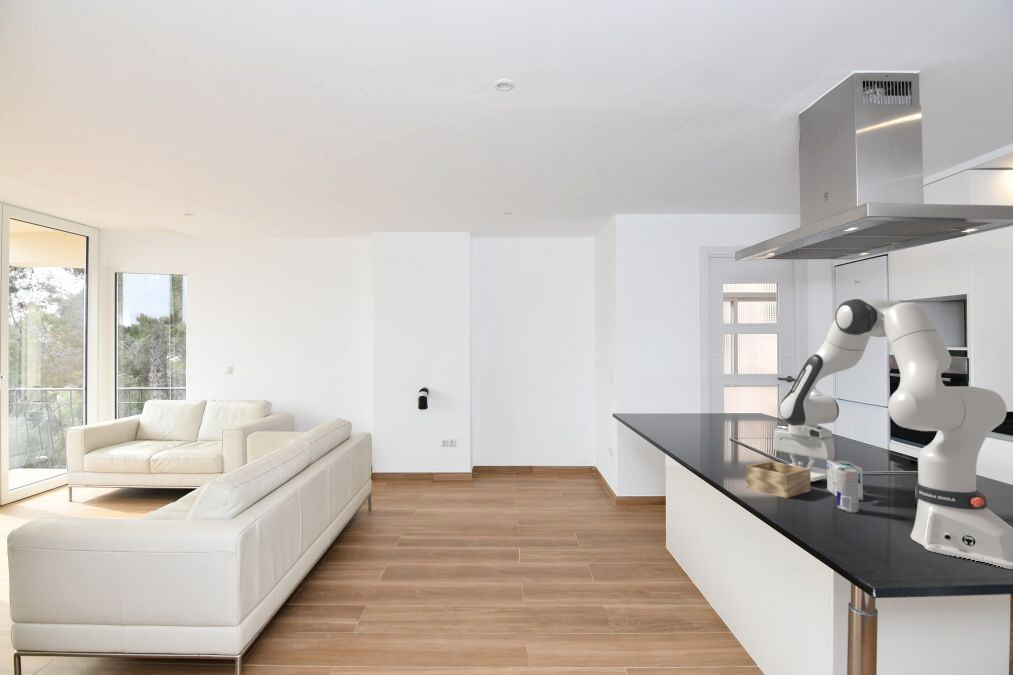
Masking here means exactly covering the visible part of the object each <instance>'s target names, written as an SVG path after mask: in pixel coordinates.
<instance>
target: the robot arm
mask: <svg viewBox="0 0 1013 675" xmlns="http://www.w3.org/2000/svg"><path fill="white" fill-rule="evenodd" d="M827 332H828V333H827V335H826V337H825V339H824V342H822V345H821V346H820V347H819V349H818V350H817V351H816V352H814V354H812V355H811V356H809V358H808V359H807V360H806V362H805V363H804V364H803V366H802V368H801V370H800V371H799V373H798V375H797V377H796V379H795V381H794V382H793V384H792V385H791V386H790V389H789V391H788V393H787V394H786V395H785V396H784V397H783V399H782V400H781V402H780V403H779V411H778V412H779V414H780V418H782V419H783V420H784V422H786V423H787V424H788V425H787V426H783V425H777V426H776V427H775V428H774V430H773V433H774V436H773V444H772V446H773V449H774V451H777V452H782V453H788V454H789V457H790V459H791V462H792V463H793V466H798V461H799V460H798V459H797V455H798V456H804V457H808V460H809V462H808V464H806V468H807V469H810V470H811V469H812V468H813V467H814V466H813V465H814V463H815V462H816V461H817V459H820V460H824V461H827V460H834V458H835V456H836V455H835V454H836V453H835V452H836V451H835V444H834V440H833V438H831V437H832V435H833V431H832V430H830V429H828V428H826V427H824V426H821V425H823V424H826V425H827V424H831V423H834V422H836V420H837V419H838V417H839V414H840V407H839V404H838V402H837V400H836V399H835V398H833V397H832V396H829V395H826V394H825V393H823V392H821V391H819V390H818V389H817V388H816V386H817V384H818V383H819V382H820V381H821V380H822V379H823V378H826V377H827V376H830V375H832V374H835V373H838V372H843V371H846V370H849V369H851V368H853V367H855V366H856V365H857V364H858V363H859V362H860V360H862V358H863V355H864V353H865V351H866V347H867V345H868V342H869V340H870V338H871V337H875V338H887V341H888V344H889V346H890V349H891V351H892V353H893V357H894V359H895V362H896V365H897V367H898V370H899V377H900V378H899V379H900V380H899V385H898V387H897V389H896V390H895V391H894V392H893V393H892V394H891V395H890V397H889V400H888V403H887V410H888V414H889V416H890V418H891V419H892V421H893V422H894V423H895V424H896V425H898V426H899V427H901V428H904V429H907V430H908V429H909V430H915V431H920V432H936V435H935V436H934V438H933V440H932V441H931V442H930V443H928V444H927V445H925V446H923V447H922V448H921V449H920V450H919V452H918V455H917V470H918V471H917V476H918V477H917V482H916V483H915V491H914V492H915V502H916V504H917V506H916V514H915V520H914V525H913V528H912V530H911V533H910V538H911V539H912V540H913V541H915V542H916V543H918V544H919V545H922V546H923V547H924V549H925V550H927V551H930V552H933V553H937V554H941V555H947V556H950V555H951V557H954V556H956V557H955V558H959V557H962V558H961V559H963V558H966V559H965V560H967V559H971V560H970V561H972V560H975V561H974V562H976V561H980V562H985V563H989V564H993V565H992V566H994V565H996V566H995V567H998V566H1000V567H999V568H1002V567H1003V568H1004V569H1007V570H1013V526H1011V525H1010V524H1009V523H1007V521H1004V520H1003V519H1002V518H1000V517H999V516H998V515H997V514H995V513H994V512H993V511H991V510H990V509H989V508H988V500H989V494H985V495H984V494H983V493H982V492H981V491H979V490H978V489H977V463H978V456H979V454H980V450H981V449H982V447H983V444H984V442H985V440H986V439H987V438H988V436H989V435H990V434H991V432H992V431H994V429H996V428H997V427H999V426H1000V425H1002V424H1003V423H1004V421H1005V419H1006V416H1007V412H1008V409H1007V405H1006V402H1005V401H1004V399H1003V397H1002V396H1001V395H1000V394H998V392H996V391H994V390H991V389H986V388H982V387H976V386H968V385H967V386H964V385H963V386H962V385H961V386H959V385H958V386H953V385H952V386H950V385H949V386H946V385H945V383H943V380H942V374H943V373H944V372H946V371H947V370H948V369H949V367H950V366H951V364H952V356H951V354H950V352H949V350H948V348H947V346H946V343H945V341H944V340H943V337H942V336H941V333H940V331H939V329H938V327H937V325H936V324H935V322H934V320H933V319H932V317H931V316H930V315H929V314H928V312H927V311H926V310H925V309H924V308H923V306H922V305H920V304H919V303H916V302H910V301H905V300H892V299H882V298H867V299H866V298H863V299H859V298H854V299H849V300H846V301H843V302H841V304H839V306H838V308H837V310H836V312H835V319H834V320H833V321H832V324H831V326H830V328H829V330H828V331H827ZM820 424H821V425H820ZM980 562H979V563H980ZM985 563H984V564H985ZM989 564H988V565H989Z"/></svg>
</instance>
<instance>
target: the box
mask: <svg viewBox="0 0 1013 675" xmlns="http://www.w3.org/2000/svg"><path fill="white" fill-rule="evenodd" d="M811 487H812V486H811V482H810V469H807V468H802V467H798V466H793V465H788V464H787V463H783V462H777V461H772V460H768V461H763V462H762V461H761V462H759V463H754V464H749V465H746V466H745V488H746V489H750V490H754V491H758V492H760V493H761V492H762V493H765V494H769V495H772V496H773V495H774V496H777V497H780V498H781V497H782V498H785V499H788V498H792V497H795V496H799V495H801V494H805V493H809V492H811Z"/></svg>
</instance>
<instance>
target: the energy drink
mask: <svg viewBox="0 0 1013 675" xmlns="http://www.w3.org/2000/svg"><path fill="white" fill-rule="evenodd" d="M836 507H837V508H838V509H842V512H844V513H849V514H850V513H851V514H856V513H858V512H859V500H858V472H857V470H855V469H850V468H838V470H837V496H836Z"/></svg>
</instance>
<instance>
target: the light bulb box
mask: <svg viewBox="0 0 1013 675" xmlns="http://www.w3.org/2000/svg"><path fill="white" fill-rule="evenodd" d="M838 468H850V469H855V470H857V472H858V501H863V500H864V493H863V492H864V491H863V489H864V488H863V468H862V467H860V466H857V465H856V464H853V463H852V462H850V461H848V460H834V459H831V460H826V470H827V478H826V479H827V480H826V481H827V482H826V483H827V485H826V487H827V488H826V489H827V490H828V492H830V493H832V495H834V496H835V497H837V470H838Z"/></svg>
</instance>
